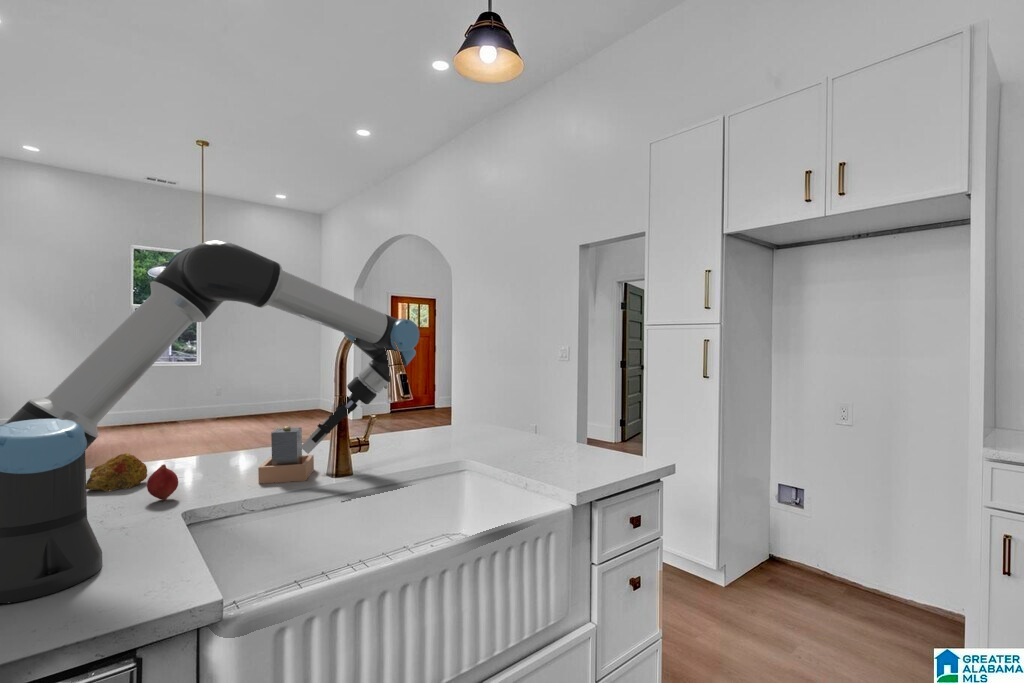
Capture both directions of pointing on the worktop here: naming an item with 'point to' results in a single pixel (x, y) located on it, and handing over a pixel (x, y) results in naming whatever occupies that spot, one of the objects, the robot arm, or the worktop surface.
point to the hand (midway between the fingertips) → (309, 444)
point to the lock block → (286, 446)
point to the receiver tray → (286, 471)
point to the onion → (162, 483)
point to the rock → (117, 473)
